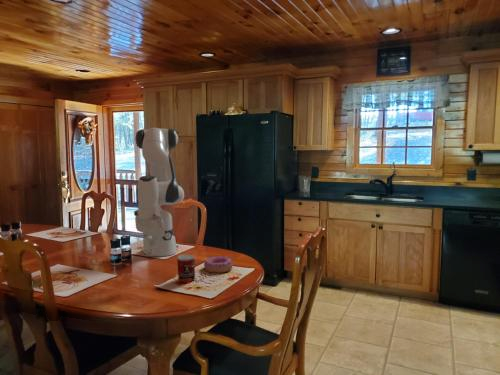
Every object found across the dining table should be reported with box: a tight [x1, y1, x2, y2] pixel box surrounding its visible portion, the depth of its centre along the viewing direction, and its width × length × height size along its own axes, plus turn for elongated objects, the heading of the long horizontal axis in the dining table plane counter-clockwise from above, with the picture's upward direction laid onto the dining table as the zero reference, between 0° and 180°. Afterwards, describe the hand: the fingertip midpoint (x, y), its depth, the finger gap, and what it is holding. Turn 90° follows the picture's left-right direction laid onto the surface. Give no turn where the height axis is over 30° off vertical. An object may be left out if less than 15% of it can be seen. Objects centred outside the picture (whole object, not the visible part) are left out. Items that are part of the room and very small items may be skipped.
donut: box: [203, 255, 234, 274], centre depth 187 cm, size 14×14×5 cm
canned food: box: [177, 253, 196, 284], centre depth 172 cm, size 8×8×11 cm
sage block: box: [142, 235, 158, 250], centre depth 165 cm, size 5×5×5 cm
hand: (150, 244), depth 165 cm, fingers closed on sage block, 5 cm apart
